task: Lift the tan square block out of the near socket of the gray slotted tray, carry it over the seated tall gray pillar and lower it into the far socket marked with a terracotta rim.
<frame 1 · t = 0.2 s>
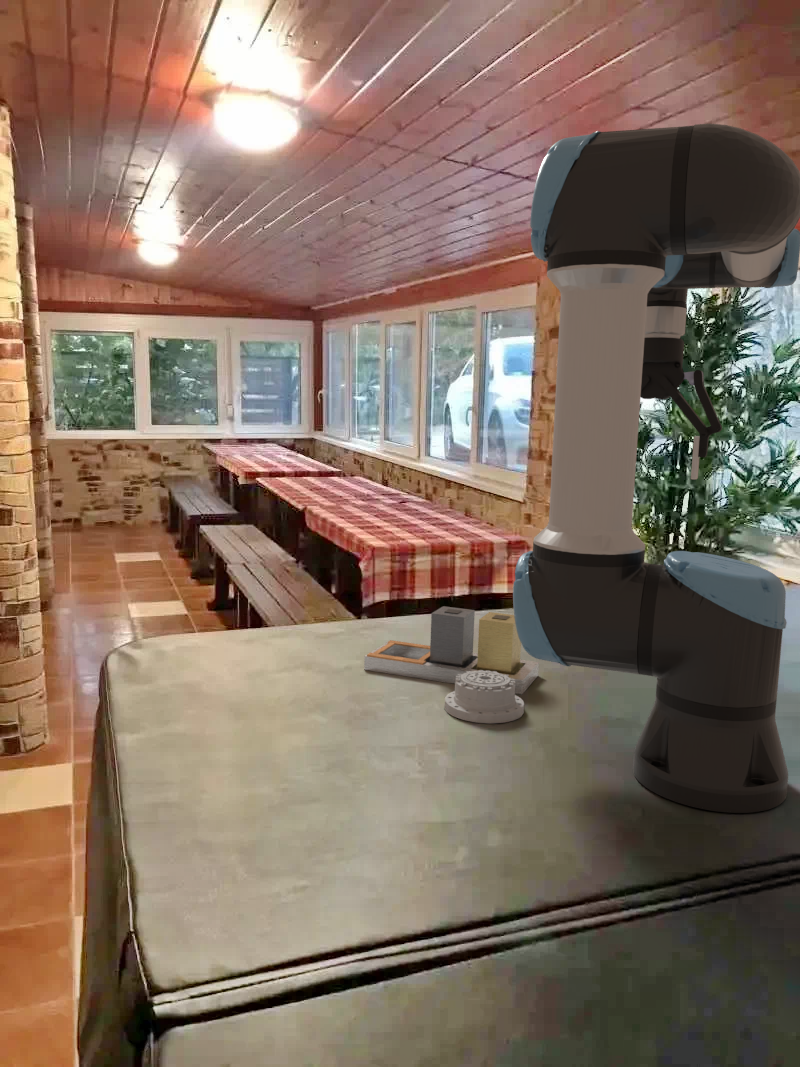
hand: (648, 476, 136), 28 cm above the table, fingers open, 13 cm apart
gray slotted tray: (450, 672, 124), on the table
mechanical component: (483, 712, 109), on the table
tan square block: (498, 680, 121), resting in gray slotted tray
tall gray pillar: (452, 642, 123), in the gray slotted tray
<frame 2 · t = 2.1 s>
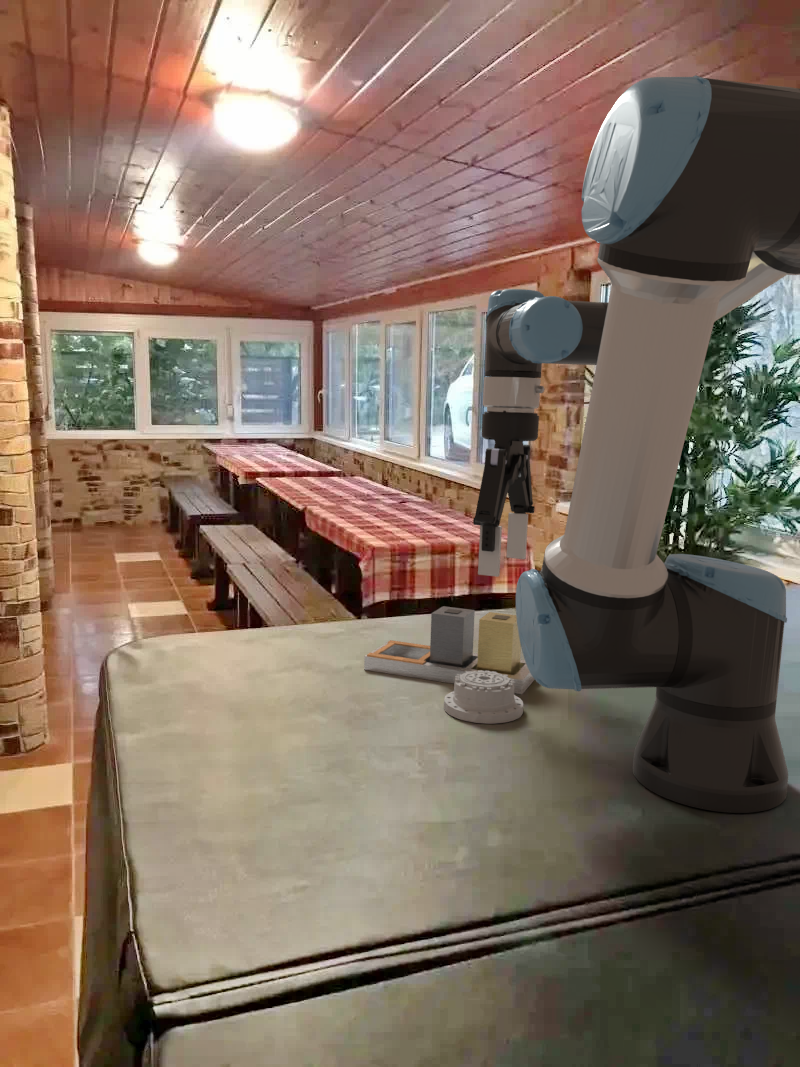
hand: (503, 566, 119), 16 cm above the table, fingers open, 13 cm apart
nothing on the table moved.
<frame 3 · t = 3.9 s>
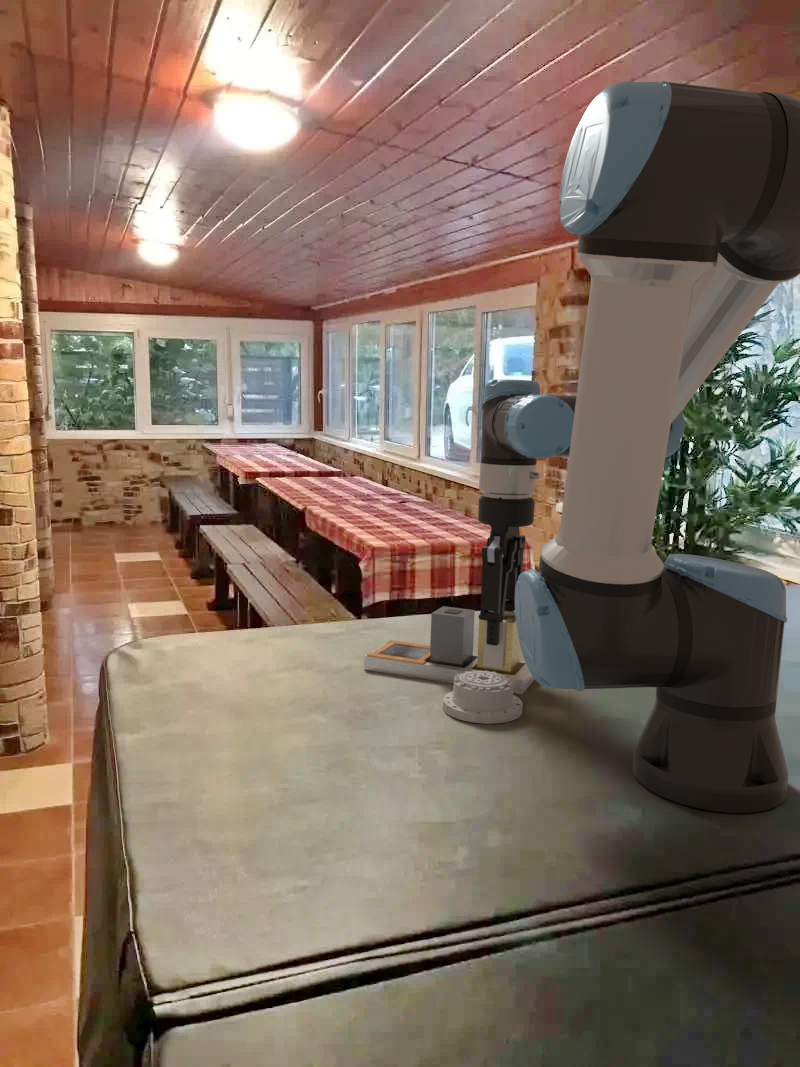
hand: (498, 660, 121), 3 cm above the table, fingers closed on tan square block, 5 cm apart
tan square block: (498, 680, 121), resting in gray slotted tray, touching gripper
everything else where it was.
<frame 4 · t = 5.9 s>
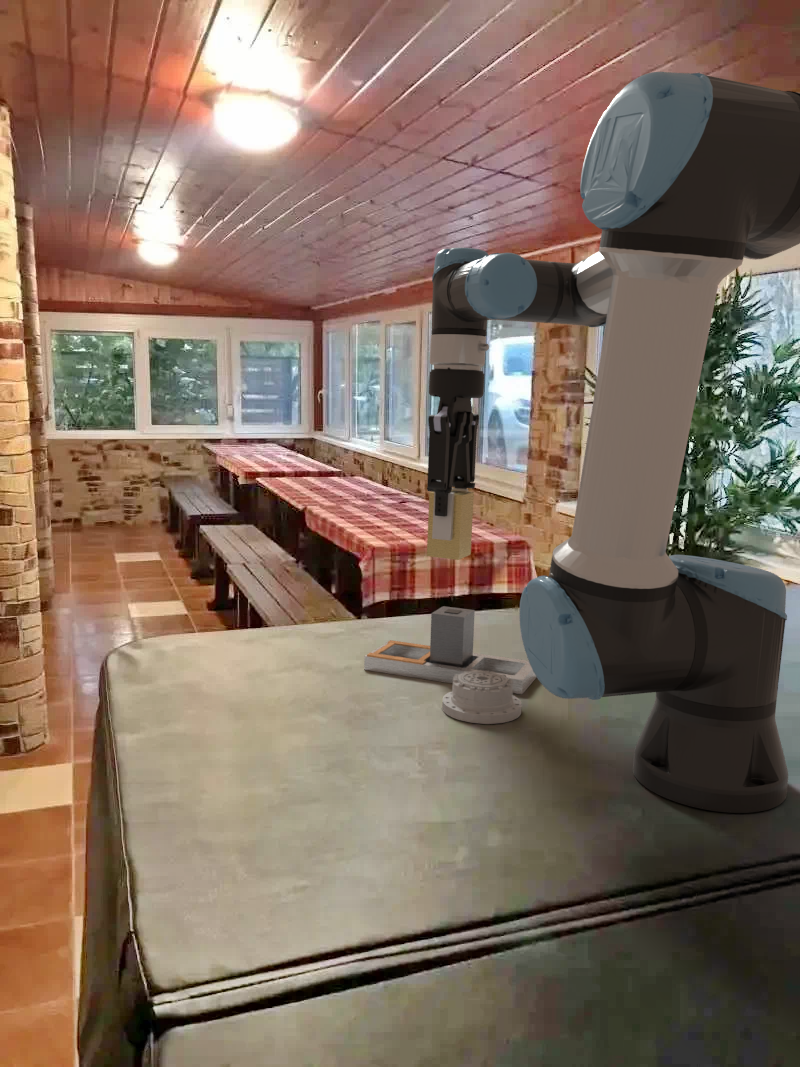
hand: (449, 535, 122), 20 cm above the table, fingers closed on tan square block, 5 cm apart
tan square block: (448, 555, 123), point 17 cm above the table, touching gripper
everything else where it was.
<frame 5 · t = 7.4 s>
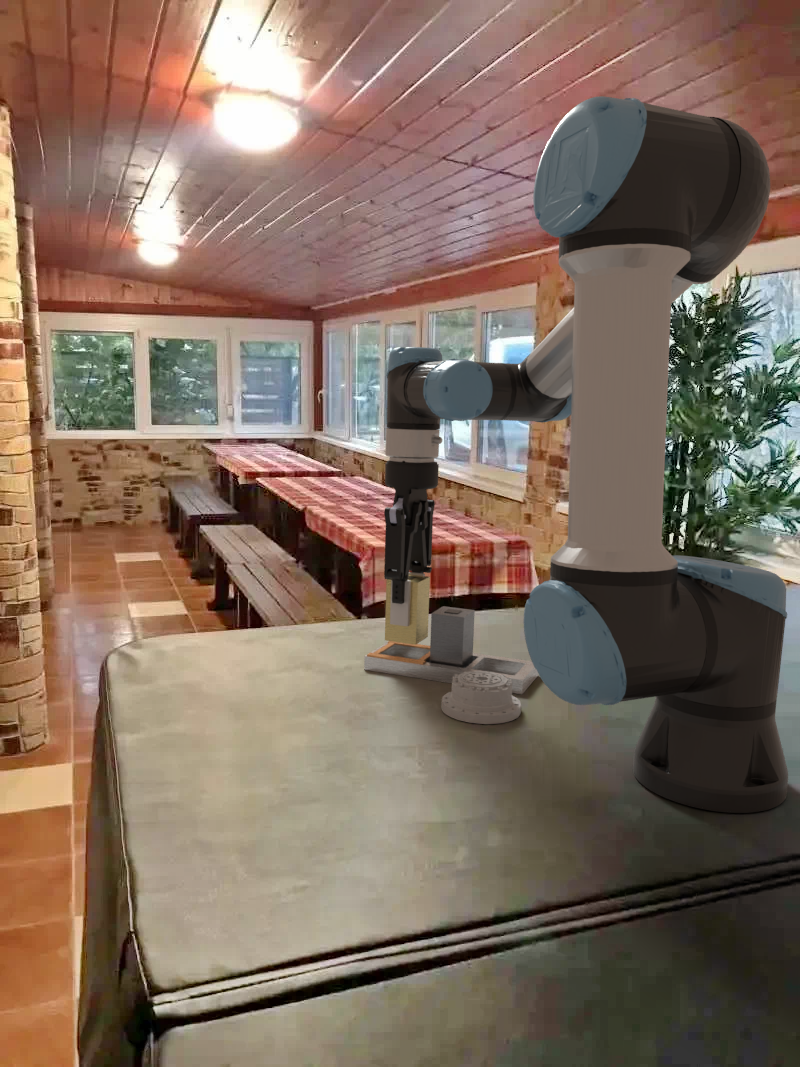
hand: (407, 620, 125), 7 cm above the table, fingers closed on tan square block, 5 cm apart
tan square block: (406, 638, 126), point 4 cm above the table, touching gripper
everything else where it was.
when the fingers open (4 cm above the table, at t = 8.3 s): tan square block stays where it is, resting in gray slotted tray.
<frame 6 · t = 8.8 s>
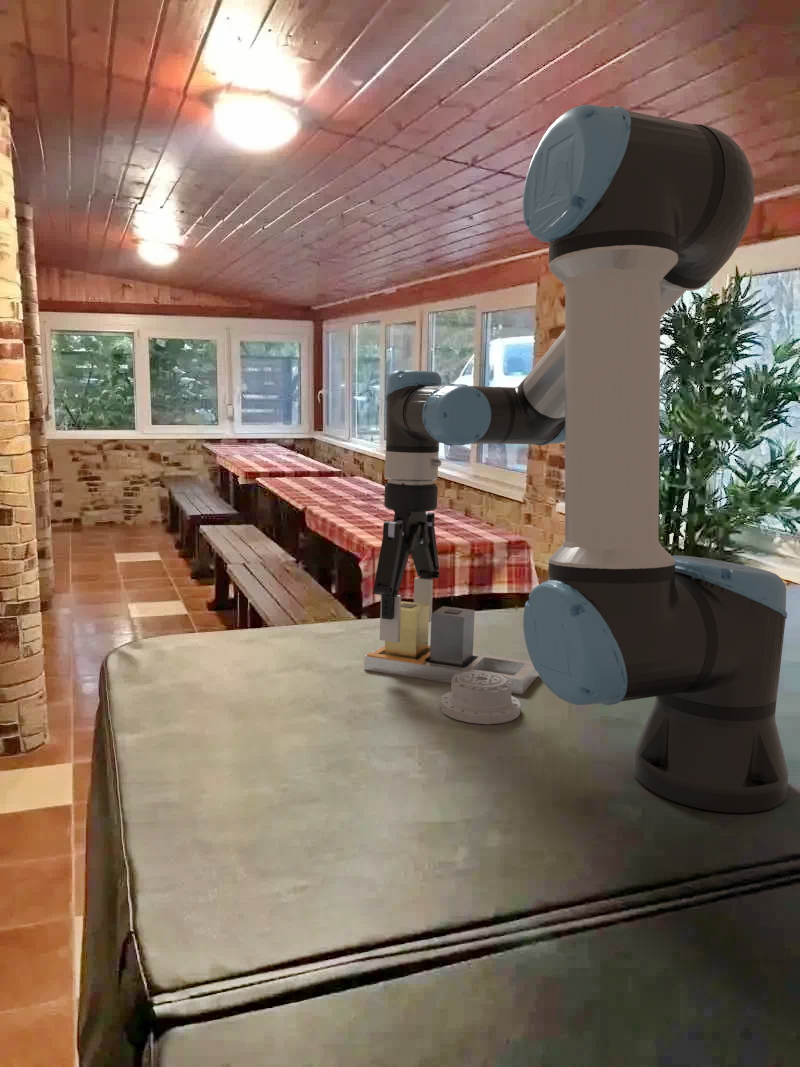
hand: (406, 630, 126), 5 cm above the table, fingers open, 12 cm apart
tan square block: (406, 666, 126), resting in gray slotted tray
everything else where it was.
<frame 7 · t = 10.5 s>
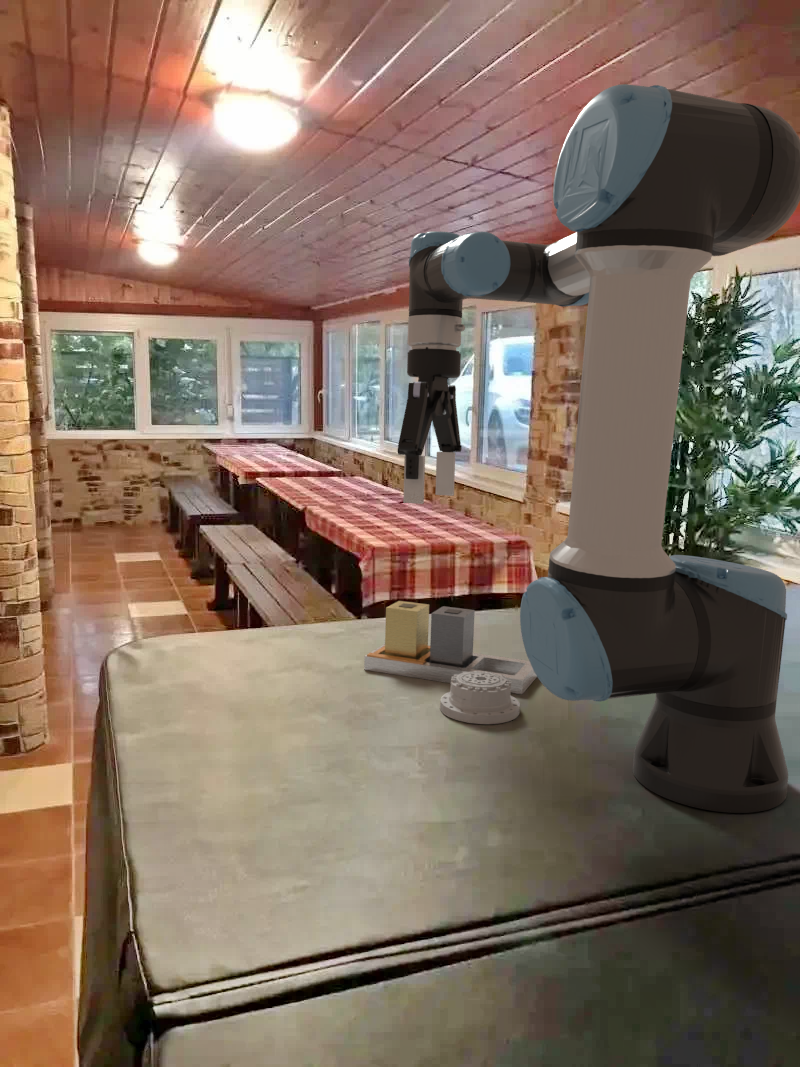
hand: (429, 499, 125), 24 cm above the table, fingers open, 13 cm apart
nothing on the table moved.
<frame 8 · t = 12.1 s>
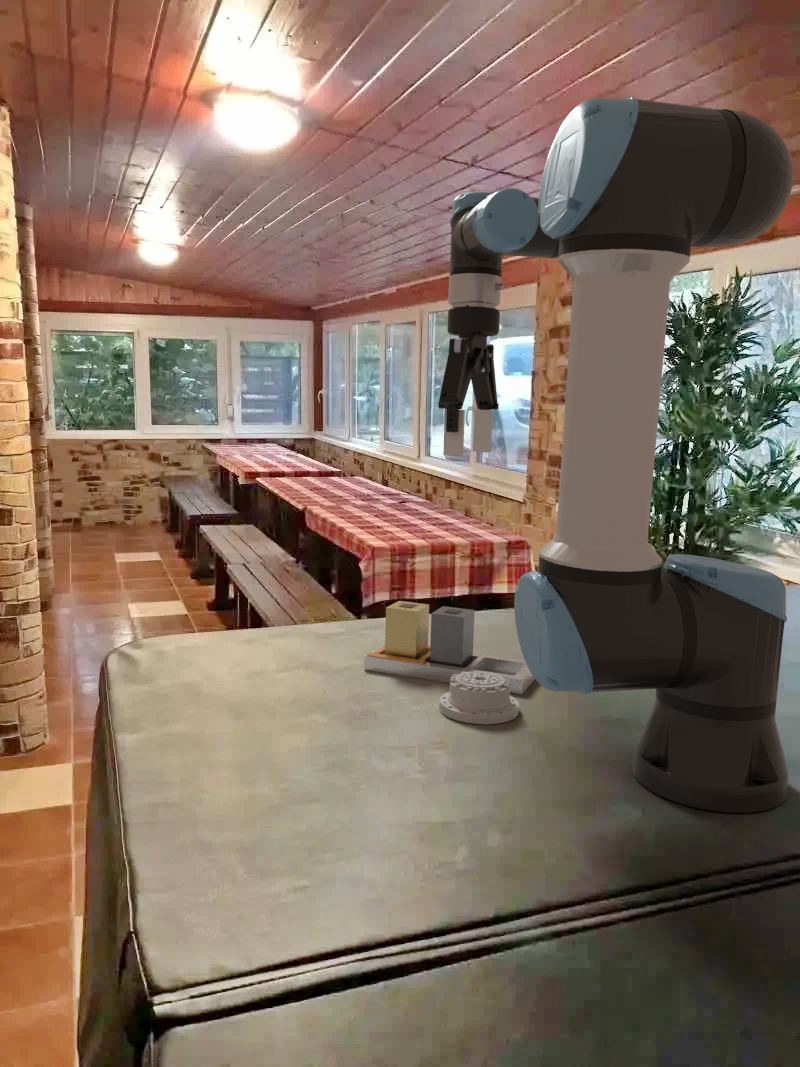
hand: (468, 454, 129), 31 cm above the table, fingers open, 13 cm apart
nothing on the table moved.
at the end: tan square block 0.1 cm from the target spot on the gray slotted tray, point 0.0 cm above the gray slotted tray's base; tan square block tilted 0°; the gripper is holding nothing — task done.
